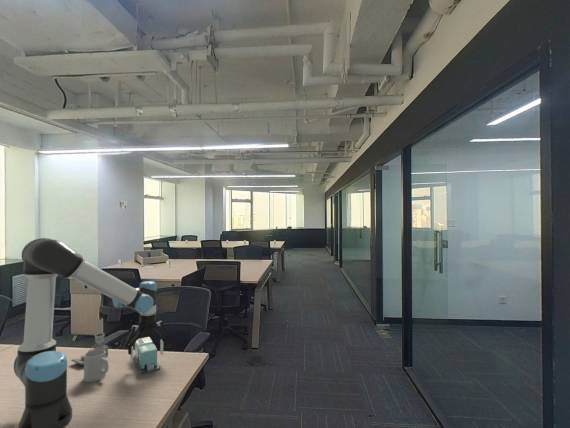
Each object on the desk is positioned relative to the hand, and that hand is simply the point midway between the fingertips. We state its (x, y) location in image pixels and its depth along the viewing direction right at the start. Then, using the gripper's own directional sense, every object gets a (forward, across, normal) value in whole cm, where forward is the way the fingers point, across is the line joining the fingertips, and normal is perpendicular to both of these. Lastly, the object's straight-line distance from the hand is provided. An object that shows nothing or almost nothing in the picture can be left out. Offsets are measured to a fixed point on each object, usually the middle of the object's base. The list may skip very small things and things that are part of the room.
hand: (147, 357), depth 151 cm
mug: (+5, +20, -1) cm, 21 cm away
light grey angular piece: (+4, 0, -4) cm, 6 cm away
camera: (+5, +22, -23) cm, 32 cm away
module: (+3, 0, 0) cm, 3 cm away
